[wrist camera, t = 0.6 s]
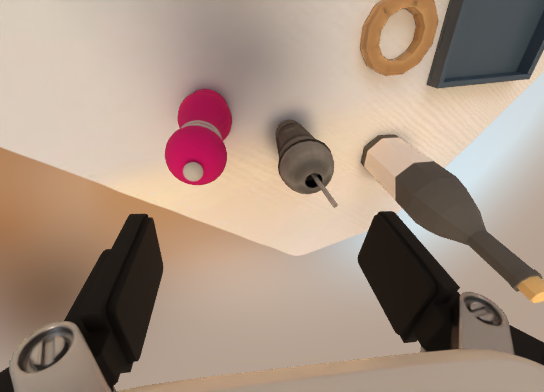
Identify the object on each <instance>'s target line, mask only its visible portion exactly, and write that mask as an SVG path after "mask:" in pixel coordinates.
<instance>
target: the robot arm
mask: <svg viewBox="0 0 544 392" xmlns="http://www.w3.org/2000/svg"><path fill="white" fill-rule="evenodd" d="M358 263H359V265H360V267H361V269H362V271H363V273H364V275H365V277H366V278H367V280H368V282H369V284H370V286H371V288H372V290H373V292H374V293H375V295H376V297H377V299H378V301H379V303H380V305H381V307H382V308H383V310H384V312H385V314H386V316H387V318H388V320H389V321H390V323H391V325H392V327H393V329H394V331H395V332H396V333H397V334H398V335H400V337H401V338H402V340H403V342H404V343H408V342H416V341H417V340H418V341H419V343H420V344H421V351H420V353H413V354H402V355H393V356H384V357H375V358H366V359H357V360H349V361H339V362H330V363H322V364H313V365H305V366H295V367H287V368H278V369H270V370H261V371H253V372H245V373H236V374H228V375H220V376H211V377H203V378H196V379H188V380H182V381H174V382H166V383H159V384H152V385H147V386H141V387H136V388H130V389H125V390H121V391H117V392H544V343H543V342H542V341H539V340H537V339H536V338H534V337H532V336H530V335H528V334H526V333H524V332H522V331H520V330H518V329H516V328H514V327H512V326H511V325H509V322H508V320H507V317H506V315H505V314H504V312H503V311H502V310H501V309H500V308H499V307H498V306H497V305H496V304H495V303H494V302H492V301H491V300H489V299H488V298H486V297H484V296H482V295H480V294H477V293H473V292H465V293H462V294H461V295H460V294H459V293H458V292H457V291H458V289H459V288H460V287H459V286H458V285H457V284H456V282H455V281H454V280H453V279H452V278H451V277H450V275H449V274H448V273H447V272H446V271H445V270H444V269H443V267H442V266H441V265H440V264H439V263H438V262H437V261H436V259H434V257H433V256H432V255H431V254H430V252H429V251H428V250H427V249H426V248H425V247H424V246H423V245H422V243H421V242H420V241H419V240H418V239H417V238H416V236H415V235H414V234H413V233H412V232H411V231H410V230H409V228H408V227H407V226H406V225H405V224H404V223H403V221H402V220H401V219H400V218H399V217H398V216H397V215H396V213H394V212H392V211H381V212H379V213H378V214H377V215H375V216H374V218H373V220H372V223H371V225H370V228H369V230H368V233H367V235H366V238H365V240H364V243H363V245H362V248H361V250H360V252H359V255H358ZM162 273H163V262H162V257H161V252H160V248H159V243H158V238H157V234H156V229H155V224H154V220H153V218H149V217H148V215H147V214H130V215H129V216H128V218H127V220H126V222H125V224H124V226H123V228H122V230H121V231H120V233H119V235H118V237H117V239H116V241H115V243H114V245H113V247H112V249H106V250H105V251H103V253H102V254H101V255H100V257H99V259H98V261H97V263H96V265H95V266H94V268H93V270H92V272H91V273H90V275H89V277H88V279H87V281H86V282H85V284H84V286H83V288H82V290H81V291H80V293H79V295H78V297H77V298H76V300H75V302H74V304H73V306H72V307H71V309H70V311H69V313H68V315H67V316H66V318H65V320H64V321H59V322H55V323H51V324H48V325H46V326H44V327H42V328H39V329H38V330H36V331H35V332H33V333H32V334H31V335H29V336H28V337H27V338H26V339H25V340H24V341H22V342H21V343H20V345H19V346H18V347H17V349H16V350H15V351H14V353H13V355H12V357H11V360H10V362H9V367H8V368H7V369H5V370H3V371H2V372H0V392H116V390H115V388H114V385H115V384H116V383H117V382H118V379H119V375H120V373H127V372H131V369H132V365H133V362H134V361H138V360H139V358H140V355H141V351H142V348H143V344H144V340H145V337H146V333H147V329H148V326H149V322H150V318H151V314H152V311H153V307H154V303H155V299H156V296H157V292H158V288H159V285H160V281H161V277H162Z"/></svg>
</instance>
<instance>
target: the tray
mask: <svg viewBox="0 0 544 392" xmlns="http://www.w3.org/2000/svg"><path fill="white" fill-rule="evenodd" d="M543 50H544V0H450V2H449V6H448V9H447V13H446V17H445V20H444V24H443V28H442V31H441V35H440V38H439V42H438V46H437V49H436V53H435V57H434V60H433V64H432V67H431V71H430V75H429V78H428V82H427V85H429V86H432V87H435V88H445V87H455V86H465V85H475V84H484V83H494V82H504V81H514V80H524V79H530V77H531V75H532V73H533V71H534V68H535V66H536V64H537V62H538V60H539V58H540V56H541V54H542V52H543Z"/></svg>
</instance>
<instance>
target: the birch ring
mask: <svg viewBox="0 0 544 392" xmlns="http://www.w3.org/2000/svg"><path fill="white" fill-rule="evenodd" d="M401 8H406V9H407V10H409V11H410V12H411V13H412V14H413V15H414V19H415V23H416V30H415V35H414V39H413V41H412V43H411V44H410V46H409V47H408V49H407V50H406V52H405V53H403V54H402V55H400V56H399V57H397V58H396V59H392V60H388V59H386V58H385V57H383V56H382V53H381V50H380V47H379V41H380V34H381V30H382V28H383V27H384V25H385V23H386V22H387V20H388V18H389V17H390V16H391V15H392V14H394V13H395V12H397V11H398V10H399V9H401ZM437 25H438V17H437V12H436V6H435V1H434V0H382V1H380V2H379V3H378V4H376V5H375V6H374V8H373V10H372V11H371V13H370V15H369V17H368V18H367V20H366V22H365V24H364V25H363V29H362V37H361V46H360V50H361V52H362V55H363V58H364V60H365V63H366V65H367V66H368V67H370V68H371V69H373V70H374V71H376V72H378V73H379V74H382V75H385V76H388V75H398V74H403V73H405V72H406V71H408V70H409V69H411V68H412V67H414V66H415V65H417V64H418V63H419V62H420V61H421V60H422V58H423V57H424V55H425V54H426V52H427V51H428V50H429V48H430V47H431V45H432V44H433V40H434V36H435V32H436V28H437Z"/></svg>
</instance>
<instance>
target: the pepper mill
mask: <svg viewBox="0 0 544 392" xmlns="http://www.w3.org/2000/svg"><path fill="white" fill-rule="evenodd" d="M178 124H179V127H180V129H179V130H177V131H176V132H175V133H174V134H173V135H172V136H171V137H170V138H169V140H168V142H167V145H166V149H165V159H166V163H167V166H168V168H169V170H170V171H171V173H172V174H173V175H174V176H175V177H176V178H178V179H179V180H180V181H182V182H184V183H187V184H192V185H204V184H207V183H210V182H212V181H214V180H215V179H216V178H218V177H219V176H220V175H221V173H222V172H223V170H224V168H225V165H226V161H227V152H226V147H225V145H224V143H223V140H224V139H225V138H226V137H227V136H228V134H229V132H230V129H231V125H232V116H231V112H230V109H229V107H228V106H227V103H226V101H225V100H224V98H223V97H222V96H221V95H220V94H219V93H217V92H215V91H213V90H209V89H201V90H198V91H195V92H194V93H193V94H191V95H189V96H188V97H186V98H185V99H184V100H183V102H182V103H181V105H180V107H179V111H178Z"/></svg>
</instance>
